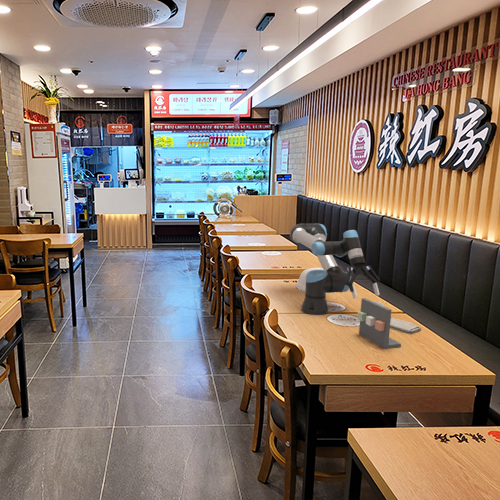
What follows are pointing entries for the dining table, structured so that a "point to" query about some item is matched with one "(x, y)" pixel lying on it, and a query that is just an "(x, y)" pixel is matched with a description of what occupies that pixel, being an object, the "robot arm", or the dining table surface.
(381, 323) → the terracotta button
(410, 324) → the washcloth
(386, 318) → the button panel
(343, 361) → the dining table surface
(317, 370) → the dining table surface
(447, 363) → the dining table surface
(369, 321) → the ivory button
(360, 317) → the sage button
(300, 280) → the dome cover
